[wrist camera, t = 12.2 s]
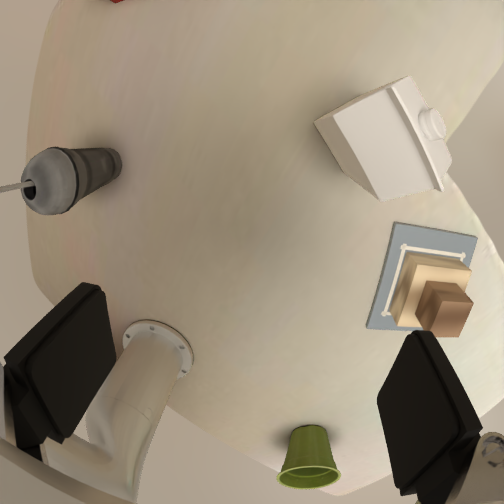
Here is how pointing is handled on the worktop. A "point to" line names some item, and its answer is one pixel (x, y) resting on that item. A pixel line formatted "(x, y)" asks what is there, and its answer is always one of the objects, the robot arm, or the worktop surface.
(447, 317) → the walnut block
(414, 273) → the maple slab
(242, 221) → the worktop surface
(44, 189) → the beverage cup
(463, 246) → the board
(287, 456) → the plant pot
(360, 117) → the milk carton
